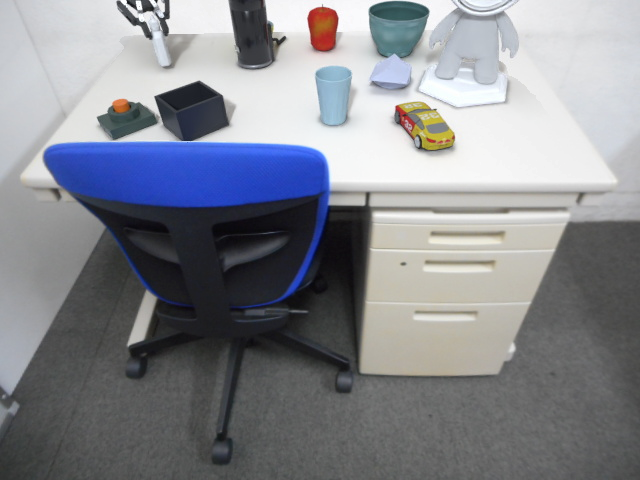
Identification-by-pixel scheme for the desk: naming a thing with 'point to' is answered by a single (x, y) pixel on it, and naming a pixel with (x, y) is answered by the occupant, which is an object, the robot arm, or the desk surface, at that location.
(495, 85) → the white toy figurine
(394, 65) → the wedge on round base
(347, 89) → the cup
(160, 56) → the eye dropper bottle
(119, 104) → the button
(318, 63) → the desk surface
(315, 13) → the apple
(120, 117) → the control block
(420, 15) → the flower pot
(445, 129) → the toy car
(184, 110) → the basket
